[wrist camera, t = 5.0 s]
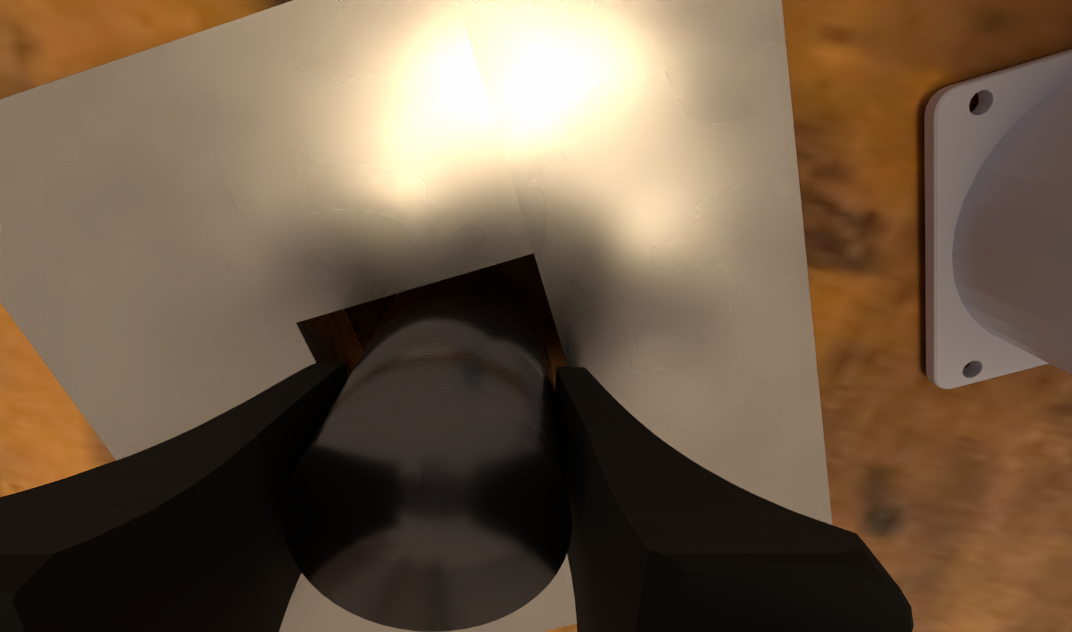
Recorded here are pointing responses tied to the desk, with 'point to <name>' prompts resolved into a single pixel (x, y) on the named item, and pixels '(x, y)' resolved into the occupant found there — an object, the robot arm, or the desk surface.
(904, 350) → the desk surface
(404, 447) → the dark metal cylinder
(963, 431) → the desk surface
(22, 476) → the desk surface
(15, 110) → the housing block
